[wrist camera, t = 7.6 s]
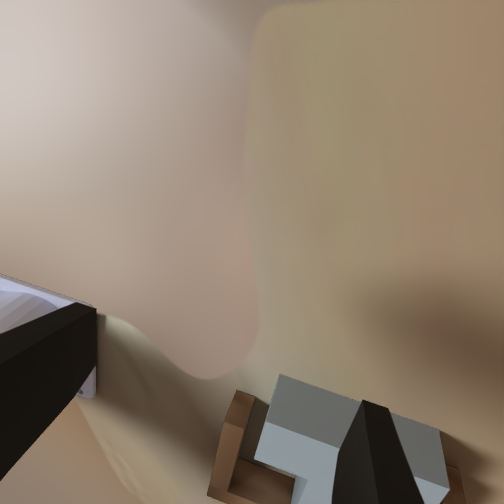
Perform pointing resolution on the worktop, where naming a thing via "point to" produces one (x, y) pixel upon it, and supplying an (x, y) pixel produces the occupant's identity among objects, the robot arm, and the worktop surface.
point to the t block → (336, 442)
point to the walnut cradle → (261, 479)
